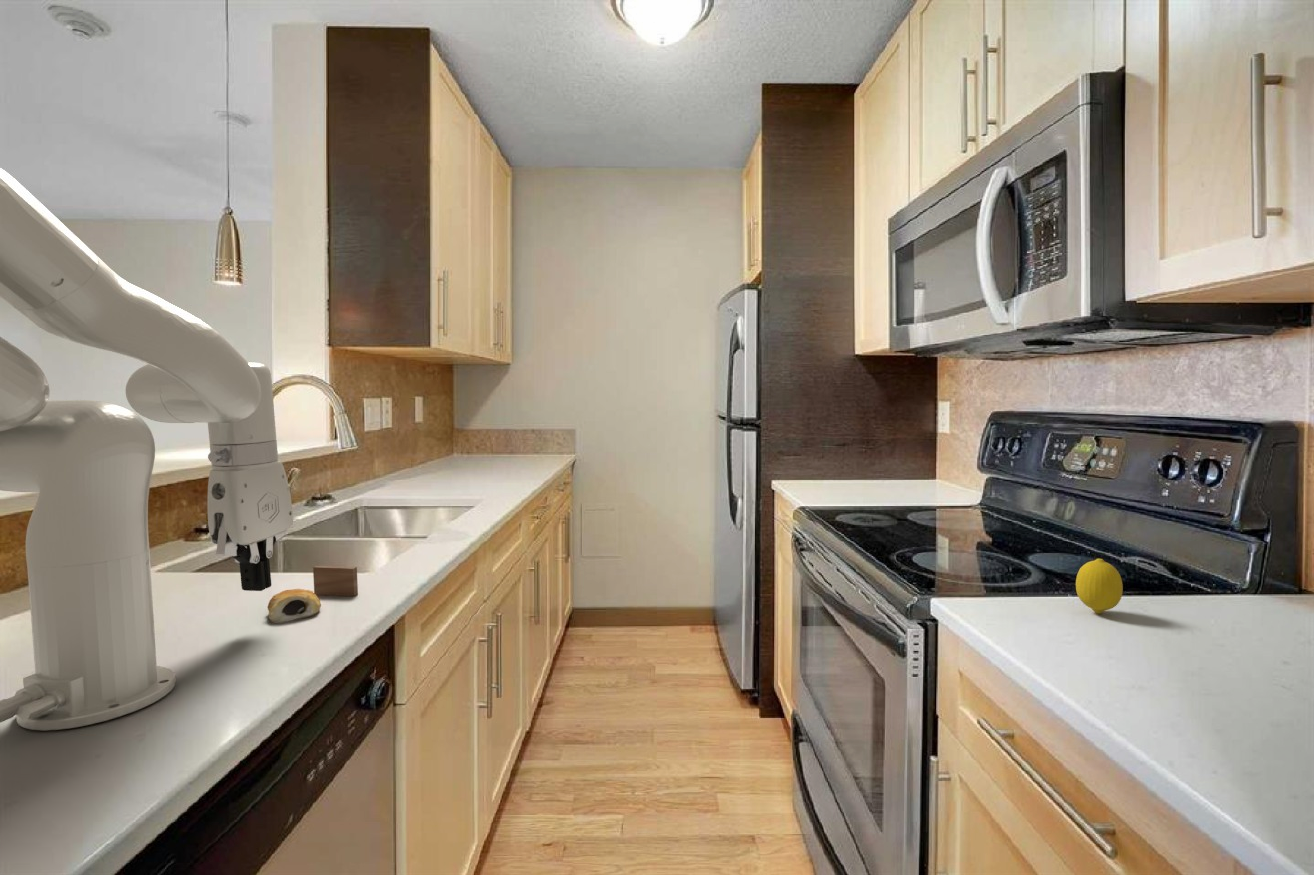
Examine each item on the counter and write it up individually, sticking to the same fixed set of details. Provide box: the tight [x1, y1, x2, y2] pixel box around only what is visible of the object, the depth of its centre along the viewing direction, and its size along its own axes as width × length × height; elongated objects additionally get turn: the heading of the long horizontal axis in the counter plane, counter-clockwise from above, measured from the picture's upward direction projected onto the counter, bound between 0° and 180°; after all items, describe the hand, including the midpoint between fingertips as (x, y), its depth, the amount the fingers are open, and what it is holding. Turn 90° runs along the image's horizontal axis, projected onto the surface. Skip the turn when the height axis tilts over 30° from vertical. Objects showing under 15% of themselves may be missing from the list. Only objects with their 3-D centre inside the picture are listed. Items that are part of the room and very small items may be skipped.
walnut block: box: [312, 565, 359, 597], centre depth 103 cm, size 1×7×4 cm, turn 82°
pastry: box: [267, 588, 322, 624], centre depth 95 cm, size 9×7×4 cm
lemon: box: [1075, 558, 1124, 615], centre depth 92 cm, size 6×6×8 cm
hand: (256, 588), depth 87 cm, fingers closed
